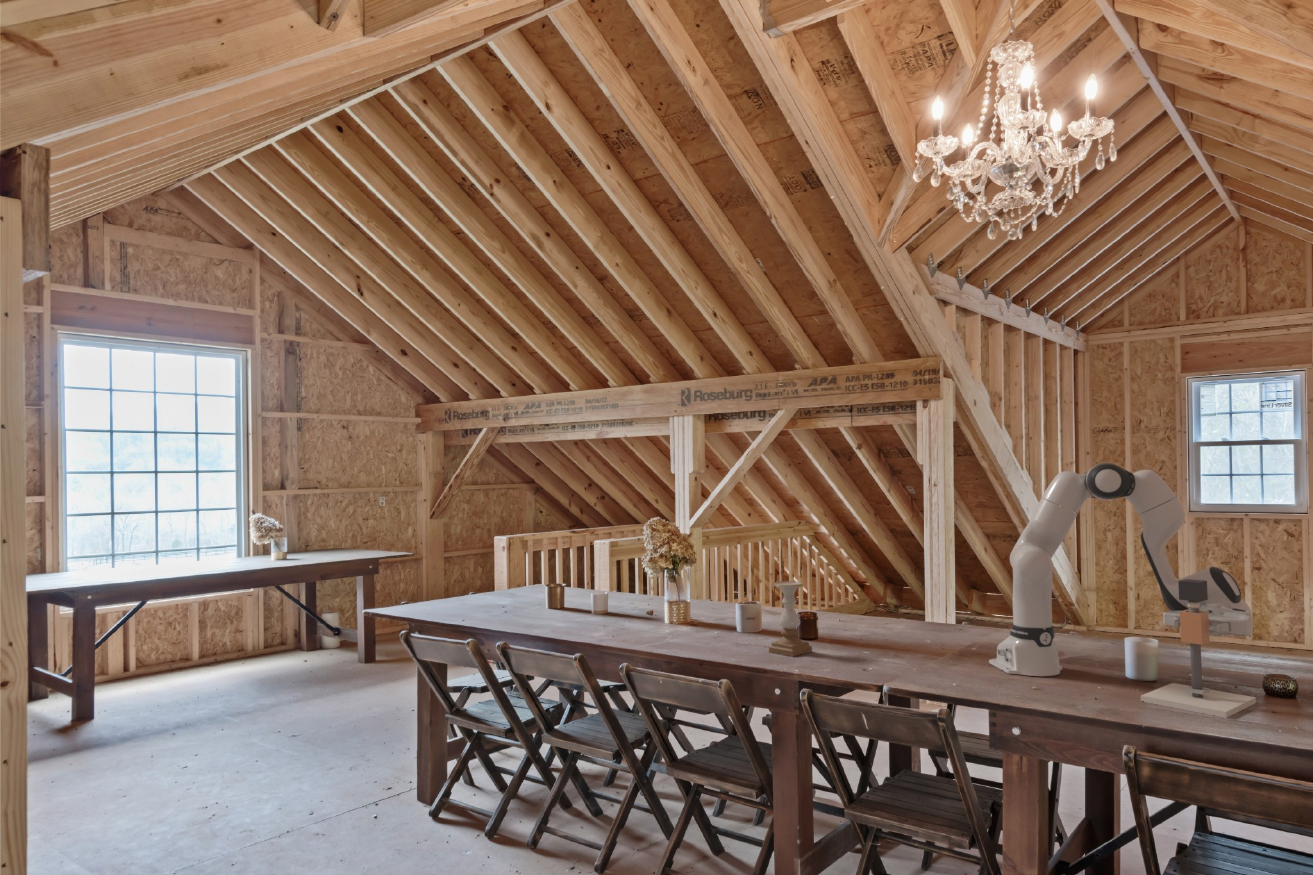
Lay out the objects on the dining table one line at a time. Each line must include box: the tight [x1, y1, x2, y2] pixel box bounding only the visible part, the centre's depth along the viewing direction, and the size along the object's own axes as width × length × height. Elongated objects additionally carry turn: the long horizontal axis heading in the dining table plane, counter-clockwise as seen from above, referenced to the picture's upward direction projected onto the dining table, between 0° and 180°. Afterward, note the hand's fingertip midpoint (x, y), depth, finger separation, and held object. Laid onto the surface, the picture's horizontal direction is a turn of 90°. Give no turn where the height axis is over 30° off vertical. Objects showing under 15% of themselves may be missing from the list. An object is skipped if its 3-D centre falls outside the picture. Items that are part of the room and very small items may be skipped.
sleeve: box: [1179, 609, 1210, 646], centre depth 224 cm, size 5×5×8 cm
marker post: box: [1140, 579, 1257, 719], centre depth 224 cm, size 20×20×32 cm
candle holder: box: [768, 580, 813, 657], centre depth 294 cm, size 11×11×24 cm
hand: (1194, 625), depth 224 cm, fingers open, 8 cm apart
